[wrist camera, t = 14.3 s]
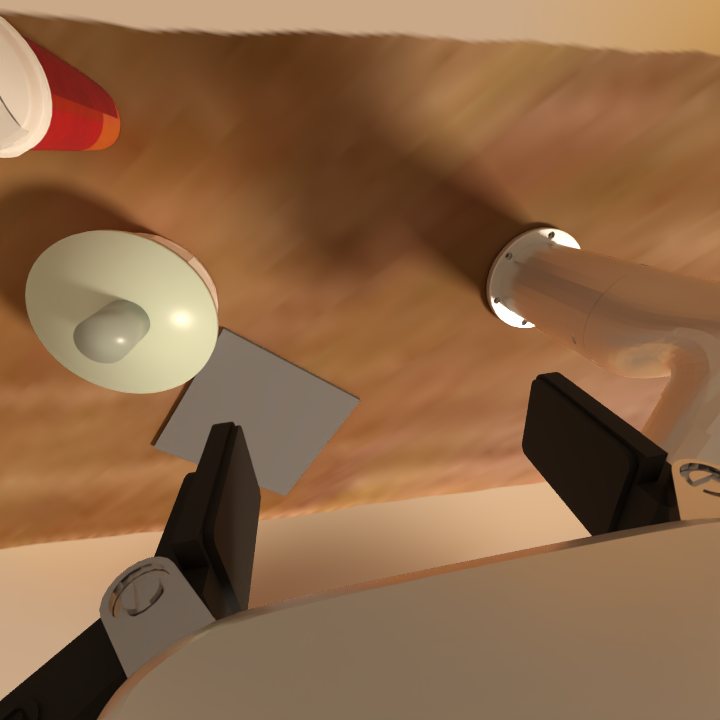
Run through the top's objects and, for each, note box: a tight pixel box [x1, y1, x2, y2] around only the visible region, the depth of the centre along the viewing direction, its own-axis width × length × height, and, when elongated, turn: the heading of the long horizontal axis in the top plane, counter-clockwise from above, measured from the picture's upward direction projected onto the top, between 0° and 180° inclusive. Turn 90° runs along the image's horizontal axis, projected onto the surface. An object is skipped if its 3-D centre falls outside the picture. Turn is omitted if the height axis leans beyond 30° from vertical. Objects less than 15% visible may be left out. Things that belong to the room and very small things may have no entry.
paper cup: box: [0, 16, 121, 158], centre depth 26 cm, size 8×8×14 cm
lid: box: [25, 230, 219, 393], centre depth 32 cm, size 16×16×6 cm
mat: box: [154, 327, 360, 496], centre depth 49 cm, size 20×20×1 cm
